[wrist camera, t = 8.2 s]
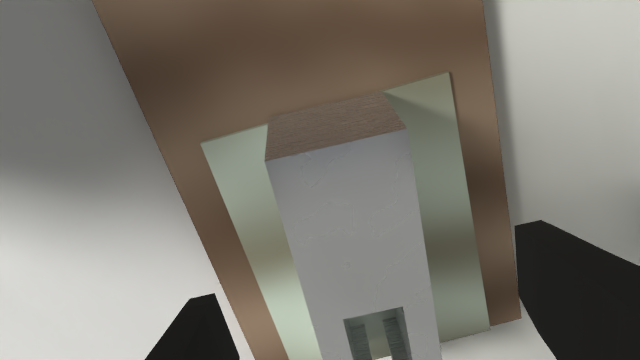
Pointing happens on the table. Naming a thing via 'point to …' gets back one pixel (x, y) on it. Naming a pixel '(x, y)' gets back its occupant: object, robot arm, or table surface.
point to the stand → (308, 91)
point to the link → (354, 224)
